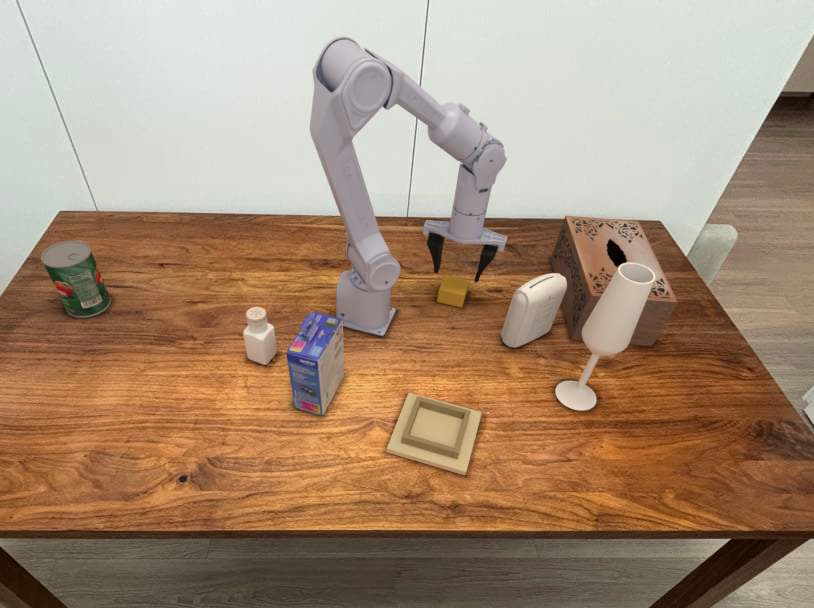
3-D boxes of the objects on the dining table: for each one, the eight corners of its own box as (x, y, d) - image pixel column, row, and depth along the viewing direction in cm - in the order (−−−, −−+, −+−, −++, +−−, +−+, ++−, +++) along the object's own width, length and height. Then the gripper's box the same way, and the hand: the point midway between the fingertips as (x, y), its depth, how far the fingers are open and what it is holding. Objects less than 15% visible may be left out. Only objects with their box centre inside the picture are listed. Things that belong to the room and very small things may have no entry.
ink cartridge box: (314, 366, 91) (311, 297, 80) (345, 374, 90) (345, 305, 79) (290, 407, 85) (283, 339, 74) (323, 417, 84) (320, 348, 73)
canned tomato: (56, 311, 98) (29, 259, 90) (86, 287, 103) (63, 236, 94) (91, 322, 96) (67, 271, 88) (120, 297, 101) (100, 246, 93)
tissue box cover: (651, 346, 97) (677, 302, 89) (571, 340, 97) (590, 295, 90) (618, 263, 114) (638, 221, 106) (550, 258, 114) (565, 215, 107)
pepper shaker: (278, 352, 93) (273, 309, 85) (266, 367, 90) (260, 324, 83) (259, 345, 94) (252, 302, 86) (246, 359, 91) (238, 316, 84)
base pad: (386, 452, 80) (387, 442, 78) (408, 396, 87) (409, 385, 85) (465, 475, 77) (468, 466, 75) (480, 415, 85) (484, 405, 83)
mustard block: (436, 301, 103) (438, 289, 101) (442, 287, 106) (444, 274, 104) (462, 307, 102) (464, 295, 100) (467, 292, 106) (470, 280, 103)
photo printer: (536, 319, 101) (556, 263, 92) (553, 332, 99) (575, 275, 89) (496, 338, 97) (512, 281, 88) (512, 352, 95) (531, 295, 85)
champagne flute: (574, 416, 85) (637, 294, 67) (546, 388, 89) (599, 265, 71) (605, 402, 88) (674, 280, 69) (577, 375, 91) (635, 253, 73)
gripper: (516, 204, 91) (498, 271, 102) (433, 188, 94) (424, 255, 104) (509, 224, 87) (492, 292, 97) (423, 207, 90) (415, 275, 100)
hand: (456, 274), depth 100 cm, fingers open, 7 cm apart
